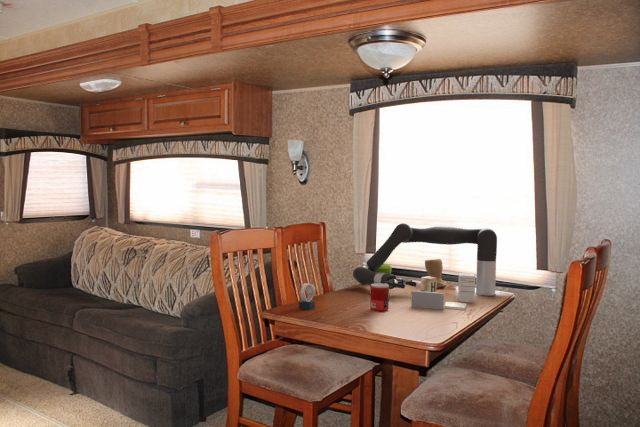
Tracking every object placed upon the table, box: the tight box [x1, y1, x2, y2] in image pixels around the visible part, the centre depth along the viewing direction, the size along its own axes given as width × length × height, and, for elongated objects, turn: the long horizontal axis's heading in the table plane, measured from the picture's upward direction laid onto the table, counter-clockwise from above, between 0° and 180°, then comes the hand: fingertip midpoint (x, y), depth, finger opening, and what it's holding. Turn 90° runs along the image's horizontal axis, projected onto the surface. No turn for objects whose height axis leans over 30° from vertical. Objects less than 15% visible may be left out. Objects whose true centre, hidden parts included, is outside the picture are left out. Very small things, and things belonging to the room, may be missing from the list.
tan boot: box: [424, 258, 447, 289], centre depth 285 cm, size 15×12×15 cm
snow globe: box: [298, 282, 316, 311], centre depth 227 cm, size 6×8×11 cm
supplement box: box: [457, 272, 476, 303], centre depth 248 cm, size 7×7×13 cm
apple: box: [376, 263, 393, 274], centre depth 293 cm, size 12×12×11 cm
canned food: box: [369, 283, 390, 313], centre depth 227 cm, size 8×8×11 cm
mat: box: [444, 301, 467, 311], centre depth 234 cm, size 9×9×1 cm
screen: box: [410, 290, 445, 310], centre depth 232 cm, size 2×14×7 cm, turn 70°
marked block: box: [420, 275, 437, 293], centre depth 241 cm, size 5×5×12 cm
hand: (410, 285), depth 250 cm, fingers open, 8 cm apart
